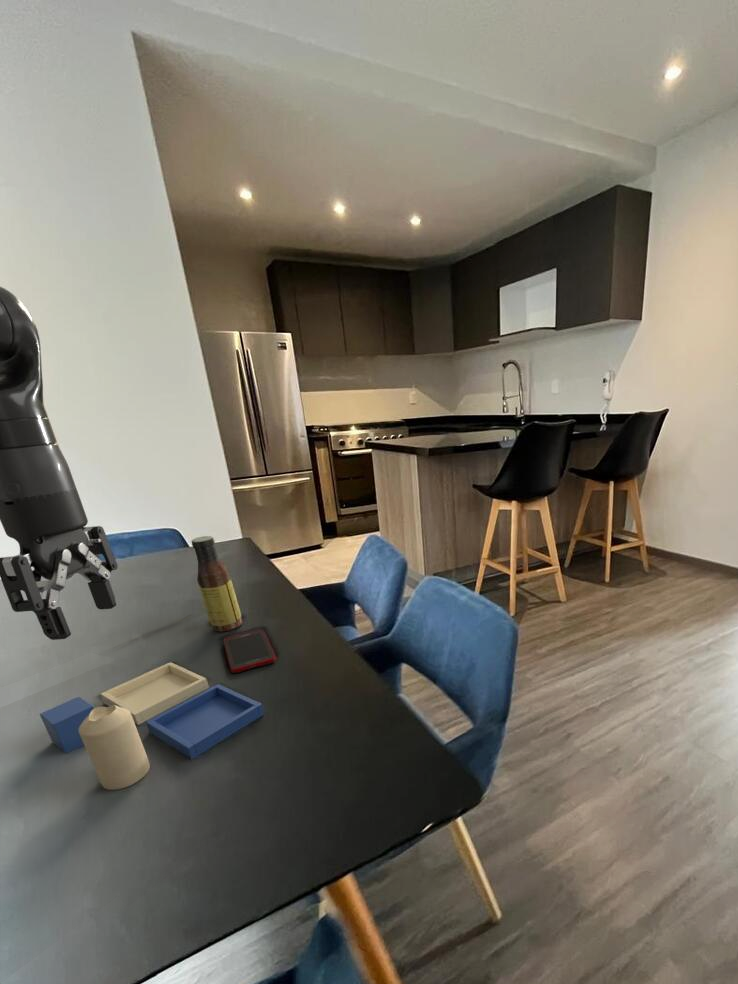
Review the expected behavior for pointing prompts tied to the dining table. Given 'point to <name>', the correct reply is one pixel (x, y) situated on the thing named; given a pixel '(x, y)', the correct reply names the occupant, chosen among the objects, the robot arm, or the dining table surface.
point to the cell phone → (248, 651)
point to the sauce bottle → (216, 586)
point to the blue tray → (204, 720)
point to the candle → (114, 747)
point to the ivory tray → (155, 691)
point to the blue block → (66, 723)
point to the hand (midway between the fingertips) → (85, 622)
